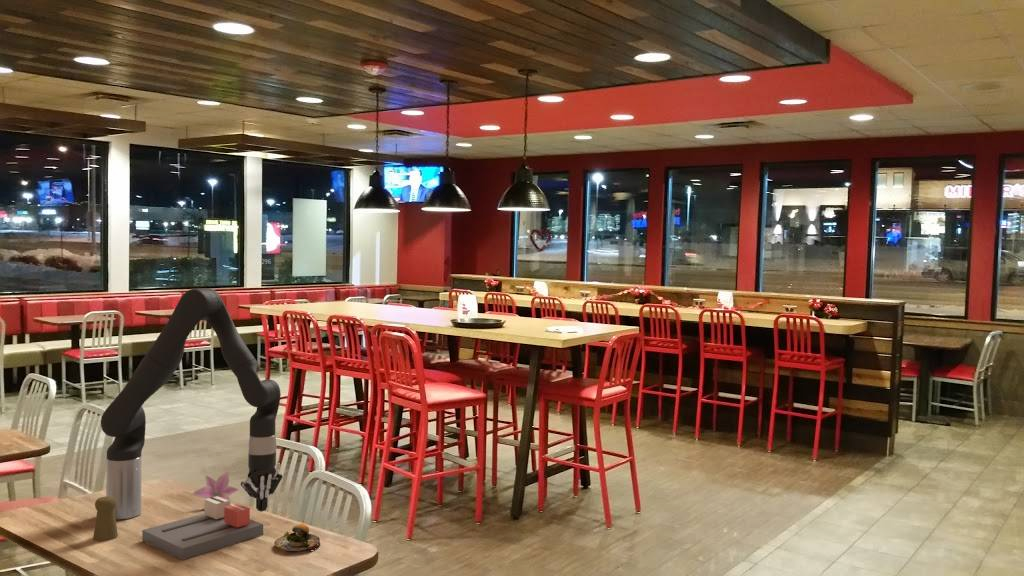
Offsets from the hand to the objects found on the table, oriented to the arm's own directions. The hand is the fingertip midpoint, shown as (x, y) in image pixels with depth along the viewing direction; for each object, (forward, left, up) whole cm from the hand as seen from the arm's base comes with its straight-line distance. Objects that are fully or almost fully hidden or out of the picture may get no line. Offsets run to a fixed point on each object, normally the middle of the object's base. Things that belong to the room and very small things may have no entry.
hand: (261, 510), depth 225 cm
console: (-5, -15, -5) cm, 16 cm away
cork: (-25, -32, -5) cm, 41 cm away
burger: (+19, -2, -6) cm, 20 cm away
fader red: (0, -8, -2) cm, 8 cm away
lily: (-26, +2, -5) cm, 27 cm away
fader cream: (-10, -8, -2) cm, 13 cm away
